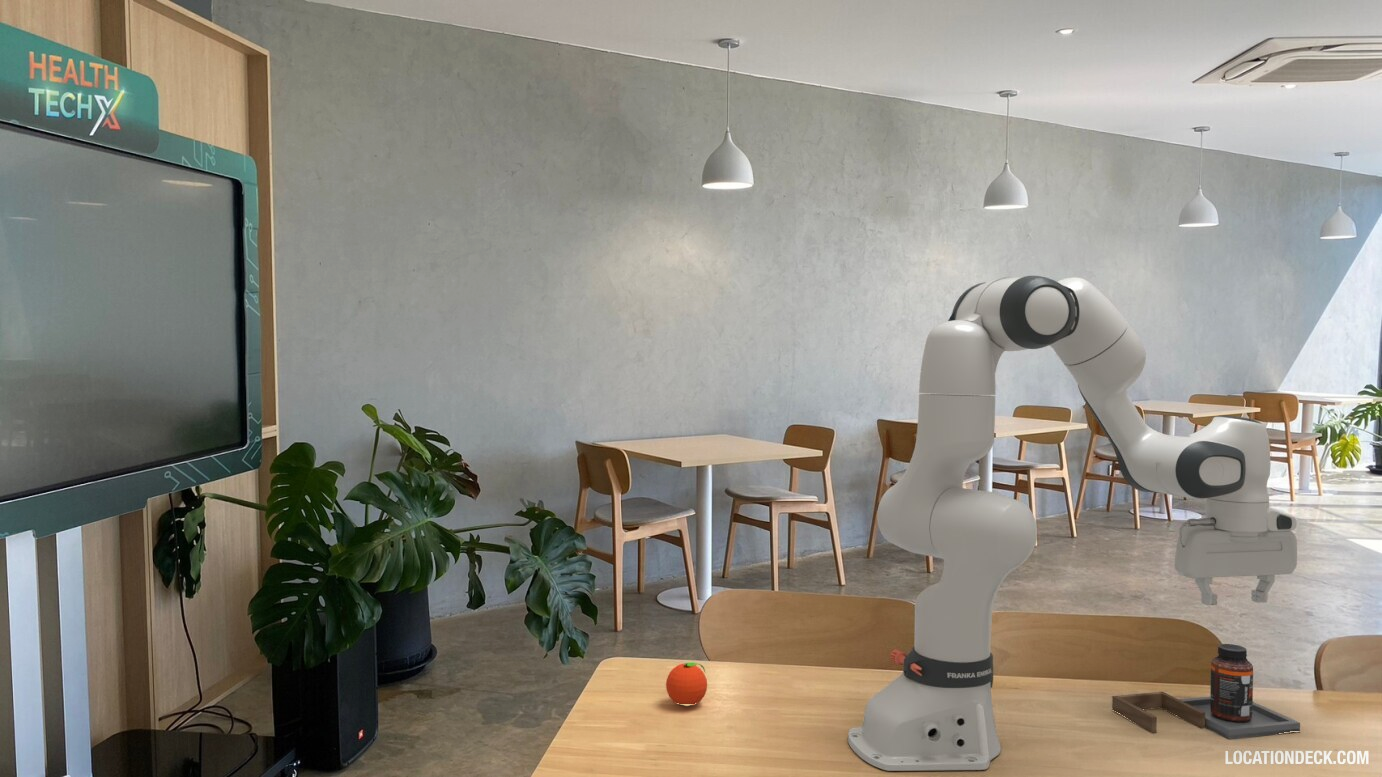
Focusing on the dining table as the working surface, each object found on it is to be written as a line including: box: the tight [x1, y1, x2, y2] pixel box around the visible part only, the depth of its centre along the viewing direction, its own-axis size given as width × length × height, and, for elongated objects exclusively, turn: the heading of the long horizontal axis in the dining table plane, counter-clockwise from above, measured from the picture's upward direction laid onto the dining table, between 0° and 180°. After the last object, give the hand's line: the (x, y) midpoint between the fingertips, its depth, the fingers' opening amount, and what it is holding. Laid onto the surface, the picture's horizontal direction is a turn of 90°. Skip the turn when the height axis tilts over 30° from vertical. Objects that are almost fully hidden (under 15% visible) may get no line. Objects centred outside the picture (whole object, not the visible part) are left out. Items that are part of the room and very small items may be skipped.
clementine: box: [665, 662, 708, 705], centre depth 161 cm, size 8×7×7 cm
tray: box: [1178, 696, 1301, 740], centre depth 154 cm, size 13×13×2 cm
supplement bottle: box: [1210, 643, 1254, 722], centre depth 154 cm, size 6×6×11 cm
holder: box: [1111, 691, 1206, 734], centre depth 155 cm, size 10×10×2 cm
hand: (1234, 603), depth 153 cm, fingers open, 8 cm apart
